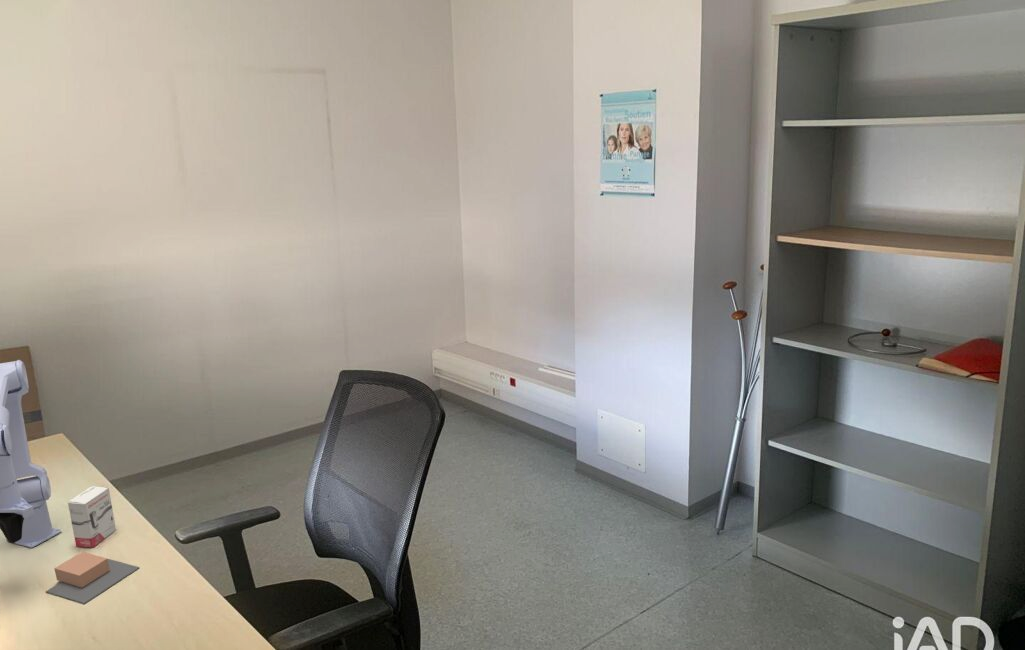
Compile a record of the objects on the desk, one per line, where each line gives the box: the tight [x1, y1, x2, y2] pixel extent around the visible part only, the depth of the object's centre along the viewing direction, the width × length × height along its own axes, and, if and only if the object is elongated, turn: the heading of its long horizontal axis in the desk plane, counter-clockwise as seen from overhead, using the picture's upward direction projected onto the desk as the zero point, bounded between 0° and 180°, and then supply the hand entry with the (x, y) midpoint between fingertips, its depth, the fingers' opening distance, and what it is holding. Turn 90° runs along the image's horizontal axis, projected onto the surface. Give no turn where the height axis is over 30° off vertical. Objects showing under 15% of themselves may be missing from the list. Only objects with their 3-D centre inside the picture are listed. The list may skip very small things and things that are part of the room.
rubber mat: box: [45, 558, 140, 605], centre depth 173 cm, size 12×14×1 cm
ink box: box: [67, 485, 117, 548], centre depth 189 cm, size 9×5×12 cm, turn 168°
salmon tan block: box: [53, 551, 110, 588], centre depth 174 cm, size 3×7×8 cm
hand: (15, 540), depth 170 cm, fingers closed
